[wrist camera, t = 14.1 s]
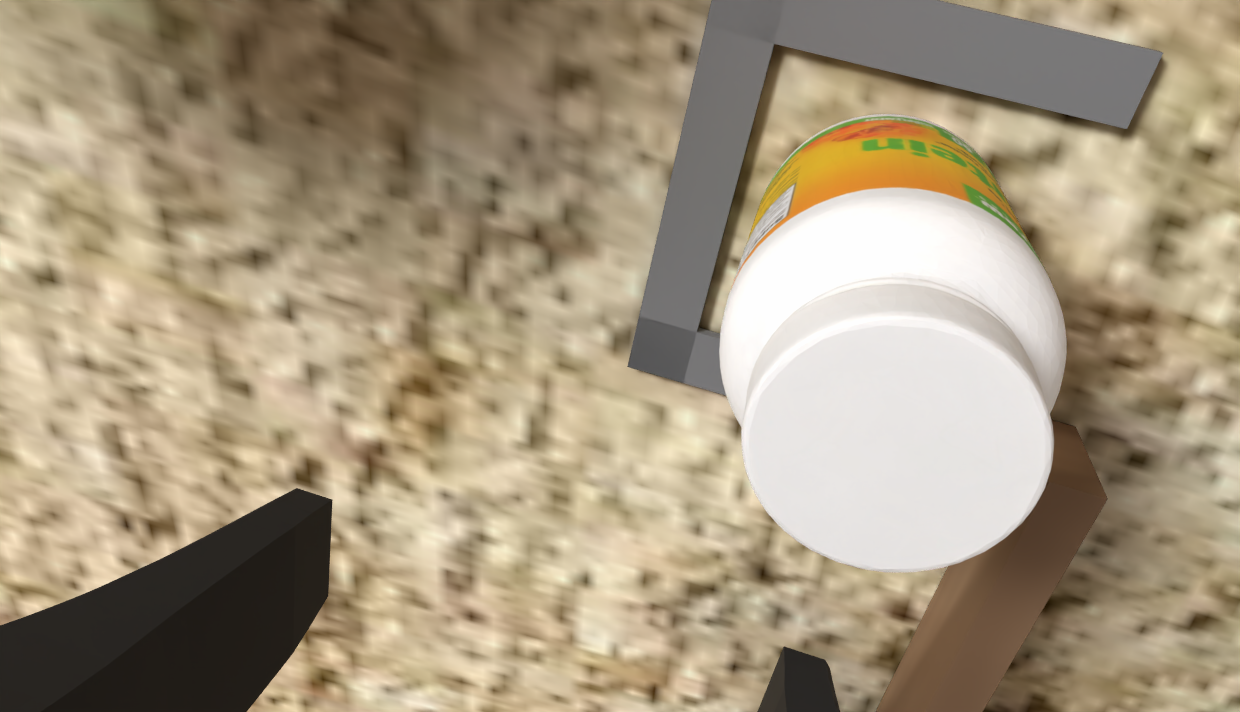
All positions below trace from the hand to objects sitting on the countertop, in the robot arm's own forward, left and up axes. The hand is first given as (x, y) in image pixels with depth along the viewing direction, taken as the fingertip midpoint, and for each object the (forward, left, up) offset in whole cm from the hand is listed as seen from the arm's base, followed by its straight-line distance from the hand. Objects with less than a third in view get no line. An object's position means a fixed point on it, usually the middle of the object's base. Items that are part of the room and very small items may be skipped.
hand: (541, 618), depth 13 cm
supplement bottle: (-4, -4, -11) cm, 12 cm away
